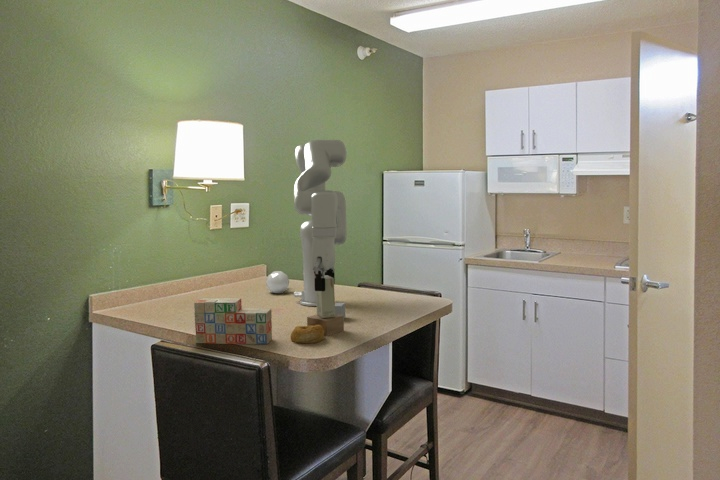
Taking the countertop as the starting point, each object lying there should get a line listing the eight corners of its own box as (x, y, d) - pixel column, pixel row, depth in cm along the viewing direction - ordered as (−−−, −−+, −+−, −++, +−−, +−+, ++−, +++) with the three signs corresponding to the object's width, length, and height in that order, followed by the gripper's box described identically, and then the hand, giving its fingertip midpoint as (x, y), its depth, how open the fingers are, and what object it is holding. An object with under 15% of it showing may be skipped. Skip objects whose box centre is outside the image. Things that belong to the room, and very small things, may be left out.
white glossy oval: (274, 299, 239) (276, 296, 254) (293, 284, 240) (294, 282, 255) (260, 281, 239) (263, 279, 254) (279, 266, 239) (281, 265, 254)
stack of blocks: (272, 339, 174) (271, 298, 173) (267, 345, 168) (265, 302, 167) (203, 337, 177) (201, 297, 176) (195, 343, 171) (193, 301, 169)
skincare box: (335, 317, 180) (334, 278, 178) (322, 319, 179) (321, 279, 177) (329, 312, 186) (328, 274, 184) (316, 313, 185) (314, 275, 183)
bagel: (322, 334, 179) (322, 319, 179) (326, 344, 169) (326, 327, 168) (289, 336, 178) (289, 320, 177) (291, 346, 167) (291, 329, 167)
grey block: (326, 320, 197) (326, 305, 196) (331, 316, 202) (331, 302, 201) (341, 320, 196) (341, 306, 195) (345, 317, 201) (345, 303, 200)
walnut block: (307, 333, 182) (307, 317, 181) (324, 327, 188) (324, 312, 188) (327, 336, 177) (326, 320, 176) (343, 331, 183) (343, 315, 183)
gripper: (321, 229, 189) (321, 281, 191) (302, 235, 172) (304, 293, 174) (343, 229, 187) (344, 282, 189) (327, 236, 170) (328, 294, 172)
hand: (324, 287), depth 182 cm, fingers open, 9 cm apart
